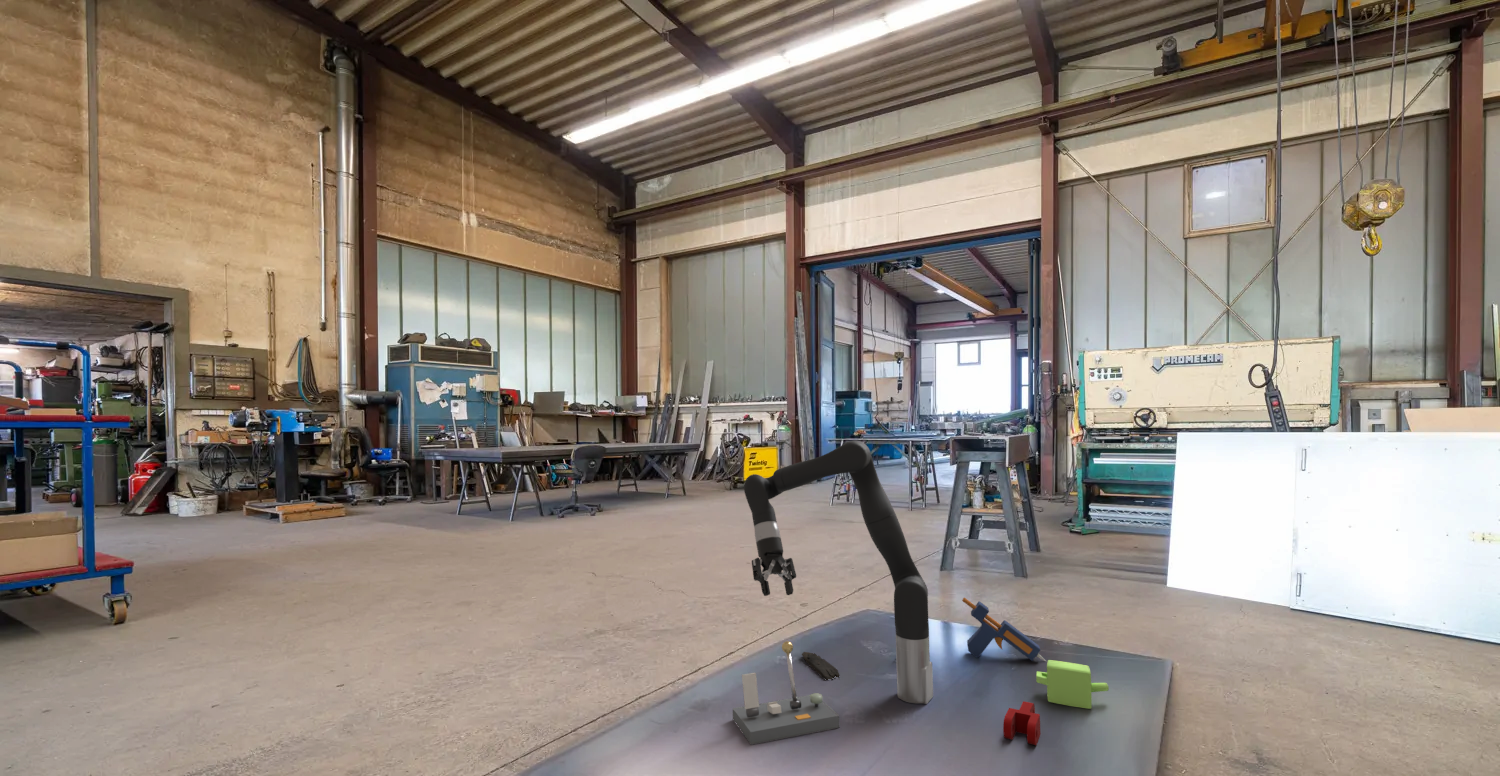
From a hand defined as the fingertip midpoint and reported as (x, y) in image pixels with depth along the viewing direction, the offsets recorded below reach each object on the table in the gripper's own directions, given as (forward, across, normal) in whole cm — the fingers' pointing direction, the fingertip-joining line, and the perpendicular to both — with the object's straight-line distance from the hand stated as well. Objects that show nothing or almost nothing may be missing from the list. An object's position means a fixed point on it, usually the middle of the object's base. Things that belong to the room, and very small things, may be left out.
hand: (778, 594), depth 182 cm
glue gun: (+26, +80, -13) cm, 85 cm away
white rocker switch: (+28, -9, 0) cm, 30 cm away
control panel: (+32, -5, +1) cm, 33 cm away
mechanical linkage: (+45, +39, -38) cm, 70 cm away
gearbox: (+40, +66, -39) cm, 86 cm away
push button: (+30, +3, -3) cm, 30 cm away
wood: (+19, +29, +19) cm, 40 cm away
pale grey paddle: (+28, -14, +2) cm, 32 cm away
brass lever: (+28, -3, -2) cm, 29 cm away
